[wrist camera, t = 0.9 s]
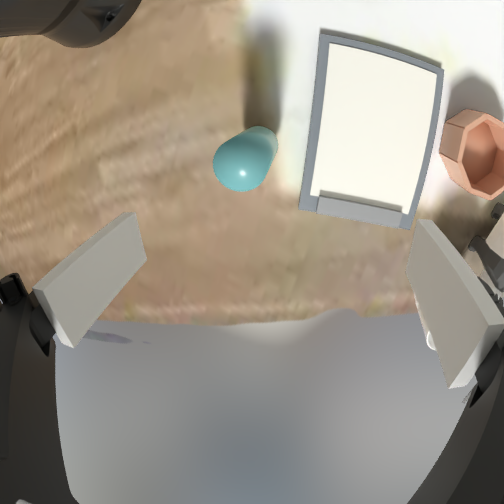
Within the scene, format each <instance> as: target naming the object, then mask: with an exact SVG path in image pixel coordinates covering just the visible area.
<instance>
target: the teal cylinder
mask: <svg viewBox="0 0 504 504" xmlns="http://www.w3.org/2000/svg"><path fill="white" fill-rule="evenodd" d="M277 150H278V140H277V138H276V136H275V134H274V133H273V132H272V131H271V130H270V129H268V128H266V127H263V126H254V127H250V128H248V129H247V130H245V131H243V132H242V133H240V134H238V135H236V136H235V137H233V138H231V139H230V140H228V141H227V142H225V143H224V144H222V145H221V146H220V147H219V148H218V150H217V151H216V153H215V155H214V159H213V168H214V172H215V175H216V177H217V178H218V180H219V181H220V182H221V183H222V184H223V185H224V186H226V187H227V188H229V189H231V190H234V191H249V190H252V189H254V188H256V187H257V186H258V185H260V184H261V183H262V181H263V180H264V178H265V176H266V174H267V172H268V170H269V168H270V166H271V163H272V161H273V159H274V157H275V155H276V153H277Z"/></svg>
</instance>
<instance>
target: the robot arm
mask: <svg viewBox="0 0 504 504" xmlns="http://www.w3.org/2000/svg"><path fill="white" fill-rule="evenodd" d="M140 2H141V0H0V37H9V36H20V35H43V36H46V37H48V38H50V39H52V40H54V41H56V42H58V43H60V44H62V45H64V46H66V47H71V48H88V47H92V46H95V45H98V44H100V43H102V42H104V41H106V40H107V39H109V38H110V37H111V36H113V35H114V34H115V33H116V32H118V31H119V30H120V29H121V28H122V27H123V26H124V25H125V24H126V22H127V21H128V20H129V19H130V18H131V16H132V15H133V13H134V12H135V10H136V9H137V7H138V5H139V4H140ZM146 261H147V258H146V254H145V250H144V247H143V243H142V239H141V234H140V230H139V226H138V222H137V217H136V213H135V212H124V213H122V214H121V215H119V216H118V217H117V218H115V219H114V220H113V221H111V222H110V223H109V224H107V225H106V226H105V227H103V228H102V229H101V230H99V231H98V232H97V233H95V234H94V235H93V236H92V237H90V238H89V239H88V240H87V241H85V242H84V243H83V244H82V245H80V246H79V247H78V248H77V249H75V250H74V251H73V252H72V253H71V254H69V255H68V256H67V257H66V258H65V259H64V260H62V261H61V262H60V263H59V264H58V265H57V266H55V267H54V268H53V269H52V270H51V271H50V272H49V273H47V274H46V275H45V276H44V277H43V278H42V279H41V280H40V281H39V282H38V283H37V284H35V285H34V286H33V287H32V289H33V291H32V292H31V293H30V294H29V295H28V293H27V291H26V289H25V287H24V284H23V282H22V280H21V278H20V276H19V274H18V273H12V274H9V275H7V276H5V277H4V278H2V279H1V280H0V299H1V300H2V302H3V304H2V303H1V301H0V504H79V503H78V502H77V501H76V500H75V499H74V497H73V496H72V494H71V492H70V489H69V485H68V481H67V476H66V471H65V467H64V461H63V456H62V450H61V443H60V436H59V428H58V418H57V406H56V388H55V348H56V345H55V341H54V340H53V338H52V337H53V335H54V334H55V333H56V334H57V335H58V337H59V339H60V340H61V342H62V343H63V344H65V345H67V346H70V347H73V348H75V347H76V345H77V344H78V343H79V341H80V340H81V339H82V337H83V336H84V335H85V333H86V332H87V331H88V330H89V328H90V327H91V325H93V323H94V322H95V321H96V320H97V318H98V317H99V316H100V315H101V313H102V312H103V311H104V310H105V308H106V307H107V306H108V305H109V304H110V302H111V301H112V300H113V299H114V297H115V296H116V295H117V294H118V293H119V292H120V290H121V289H122V288H123V287H124V286H125V285H126V283H127V282H128V281H129V280H130V279H131V278H132V276H133V275H134V274H135V273H136V272H137V271H138V270H139V268H140V267H141V266H142V265H143V264H144V263H145V262H146ZM405 273H406V275H407V277H408V280H409V282H410V284H411V286H412V289H413V291H414V293H415V295H416V298H417V300H418V303H419V305H420V307H421V310H422V312H423V315H424V317H425V320H426V323H427V325H428V328H429V331H430V333H431V336H432V339H433V342H434V345H435V348H436V351H437V353H438V356H439V360H440V363H441V366H442V369H443V373H444V376H445V379H446V383H447V386H448V388H455V387H461V386H466V385H467V384H468V382H469V381H470V380H471V378H472V377H473V376H474V374H475V376H476V379H477V381H478V382H477V384H476V385H475V386H474V388H473V389H472V390H471V391H470V392H469V394H468V395H467V396H466V397H465V399H464V400H463V401H462V402H463V403H465V402H466V401H467V400H468V402H467V404H466V407H465V409H464V411H463V413H462V415H461V417H460V419H459V422H458V423H457V425H456V427H455V430H454V431H453V433H452V435H451V437H450V439H449V441H448V443H447V444H446V446H445V448H444V450H443V451H442V453H441V455H440V457H439V458H438V460H437V462H436V463H435V465H434V466H433V468H432V470H431V471H430V473H429V474H428V476H427V477H426V479H425V480H424V481H423V483H422V484H421V486H420V487H419V489H418V490H417V491H416V493H415V494H414V495H413V497H412V498H411V499H410V501H409V502H408V503H407V504H504V307H503V306H502V304H501V303H499V300H498V298H497V297H496V296H495V295H494V292H493V291H492V289H491V288H490V286H489V285H488V284H487V283H486V282H485V281H483V280H482V279H481V278H480V277H477V276H476V275H475V273H474V272H473V271H472V269H471V268H470V267H469V265H468V264H467V263H466V261H465V260H464V259H463V257H462V256H461V255H460V253H459V252H458V251H457V250H456V248H455V247H454V246H453V245H452V243H451V242H450V241H449V240H448V239H447V237H446V236H445V235H444V234H443V233H442V232H441V230H440V229H439V228H438V227H437V226H436V225H435V223H434V222H433V221H432V220H425V219H417V222H416V227H415V232H414V237H413V242H412V246H411V251H410V255H409V259H408V263H407V267H406V271H405Z"/></svg>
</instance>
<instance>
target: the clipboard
mask: <svg viewBox="0 0 504 504" xmlns="http://www.w3.org/2000/svg"><path fill="white" fill-rule="evenodd" d="M443 78H444V69H441V68H439V67H437V66H434V65H432V64H429V63H427V62H424V61H422V60H419V59H416V58H414V57H411V56H408V55H405V54H402V53H399V52H396V51H393V50H390V49H386V48H383V47H379V46H376V45H372V44H368V43H364V42H360V41H356V40H351V39H347V38H342V37H337V36H331V35H326V34H320V39H319V50H318V61H317V71H316V81H315V90H314V99H313V107H312V116H311V124H310V131H309V139H308V147H307V154H306V161H305V168H304V175H303V182H302V188H301V195H300V201H299V210H305V211H311V212H316V214H322V215H328V216H334V217H340V218H345V219H351V220H356V221H362V222H367V223H372V224H377V225H382V226H387V227H392V228H397V229H398V228H402V229H407V230H410V228H411V225H412V222H413V219H414V216H415V213H416V209H417V206H418V203H419V199H420V196H421V192H422V189H423V185H424V182H425V178H426V174H427V170H428V166H429V162H430V157H431V153H432V148H433V144H434V139H435V133H436V128H437V122H438V116H439V110H440V103H441V96H442V87H443Z"/></svg>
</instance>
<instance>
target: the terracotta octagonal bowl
mask: <svg viewBox="0 0 504 504" xmlns="http://www.w3.org/2000/svg"><path fill="white" fill-rule="evenodd" d="M439 152H440V153H439V154H440V156H441V158H442V160H443V162H444V165H445V167H446V169H447V171H448V174H449V176H450V178H451V179H452V180H453V181H454V182H455V183H457V184H458V185H459V186H461V187H462V188H464V189H465V190H466V191H467V192H469V193H471V194H474V195H477V196H479V197H482V198H485V199H487V200H493V199H494V198H495V197H497V196H498V195H499V194H501V193H502V192H503V191H504V123H503V122H501V121H500V120H498V119H496V118H494V117H493V116H491V115H489V114H487V113H483V112H479V111H474V110H469V109H464V110H463V111H461V112H460V113H458V114H457V115H455V116H454V117H452V118H450V119H449V120H447V121H446V123H445V124H444V130H443V135H442V140H441V145H440V150H439Z"/></svg>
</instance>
